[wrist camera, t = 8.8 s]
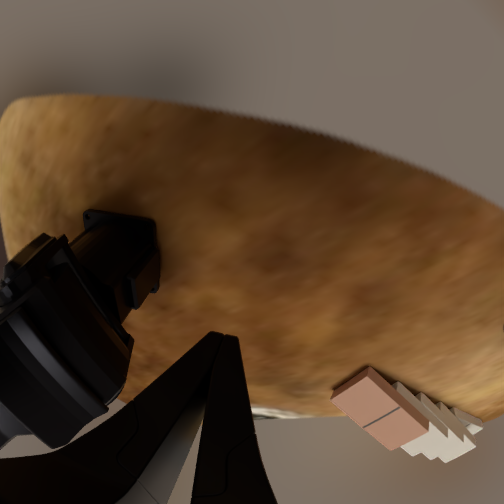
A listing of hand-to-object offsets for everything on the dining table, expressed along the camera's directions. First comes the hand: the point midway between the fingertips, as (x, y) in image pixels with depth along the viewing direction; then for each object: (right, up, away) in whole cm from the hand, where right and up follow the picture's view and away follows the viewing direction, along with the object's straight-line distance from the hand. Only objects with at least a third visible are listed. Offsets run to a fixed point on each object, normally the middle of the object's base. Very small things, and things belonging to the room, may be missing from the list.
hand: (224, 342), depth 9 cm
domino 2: (+14, -12, +18) cm, 25 cm away
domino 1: (+10, -10, +17) cm, 22 cm away
